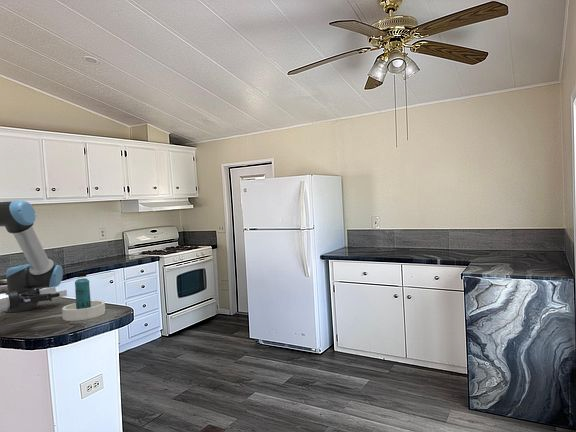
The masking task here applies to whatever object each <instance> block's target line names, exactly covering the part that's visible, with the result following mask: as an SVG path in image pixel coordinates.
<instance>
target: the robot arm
mask: <svg viewBox="0 0 576 432" xmlns="http://www.w3.org/2000/svg"><path fill="white" fill-rule="evenodd" d="M36 216H37V215H36V210H35V208H34V206H32V204H31V203H30V202H28V201H26V200H17V199H16V200H12V201H0V227H3V228H4V227H5V230H6V231H7V232H8V234H13V236H14V239H15V241H16V242H17V244H18V246H19V248H20V249H21V251H22V254H23V255H24V257H25V259H26V260H27V262H28V263H26V264H22V265H18V266H14V267H13V266H12V267H9V268H7V270H6V275H5V276H6V277H5V278H6V287H7V291H6V293H5V292H1V293H0V314H1V313H2V312H5V313H20V312H26V311H31V310H35V309H36V308H39V307H40V304H39V302H47V301H49V302H52V300H54V299H58V298H63V297H67V296H68V292H67V289H64V290H58V291H56V287H58V286H60V284H61V282H62V280H63V276H64V275H63V274H64V272H63V270H64V269H63V267H62V265H60V264H55V262H54V261H53V260H52V259H51V258H48V255H47V254H46V252H45V249H44V247H43V246H42V244H41V241H40V239H39V237H38V236H37V233H36V231H35V229H34V227H33V226H34V224H35V221H36V218H37V217H36Z"/></svg>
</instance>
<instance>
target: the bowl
mask: <svg viewBox="0 0 576 432" xmlns="http://www.w3.org/2000/svg"><path fill="white" fill-rule="evenodd" d="M61 313H62V317H61V318H62V321H66V322H77V321H86V320H91V319H94V318H95V319H96V318H99V317H101V316H102V315H103V316H104V315H105V313H106V303H105V301H103V300H91V307H90V308H85V309H76V302H74V303H71V304H67V305H64V306H63V307H61Z"/></svg>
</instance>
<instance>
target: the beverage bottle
mask: <svg viewBox="0 0 576 432" xmlns="http://www.w3.org/2000/svg"><path fill="white" fill-rule="evenodd" d="M83 277H84V278H83ZM85 277H87V272H86V271H78V272H76V278H78V279H76V280H75V282H74V287H75V289H74V290H75V292H74V293H75V303H76V309H85V308H90V307H91V301H92V299H91V292H90V291H91V290H90V280H89V279H88V278H85Z"/></svg>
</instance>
